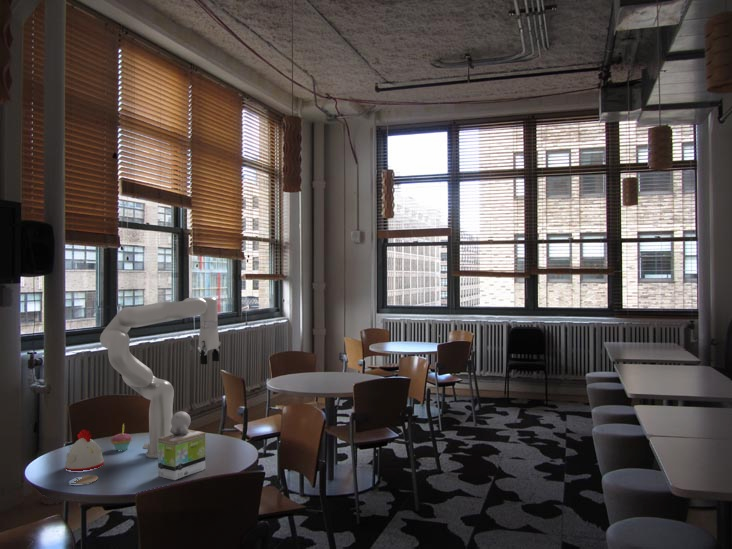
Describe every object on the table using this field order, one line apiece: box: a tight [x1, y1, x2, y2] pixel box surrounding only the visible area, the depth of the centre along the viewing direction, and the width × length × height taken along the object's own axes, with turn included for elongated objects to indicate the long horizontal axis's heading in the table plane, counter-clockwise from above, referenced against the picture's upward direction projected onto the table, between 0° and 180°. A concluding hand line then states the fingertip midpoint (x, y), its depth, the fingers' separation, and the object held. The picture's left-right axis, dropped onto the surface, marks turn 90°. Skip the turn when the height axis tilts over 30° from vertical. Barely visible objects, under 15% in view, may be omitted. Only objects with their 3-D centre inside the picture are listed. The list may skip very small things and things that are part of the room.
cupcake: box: [110, 423, 132, 452], centre depth 261 cm, size 9×8×12 cm
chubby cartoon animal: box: [170, 410, 191, 435], centre depth 229 cm, size 7×12×8 cm, turn 0°
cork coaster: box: [71, 474, 99, 485], centre depth 220 cm, size 10×10×1 cm
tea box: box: [157, 429, 206, 481], centre depth 227 cm, size 15×10×15 cm, turn 149°
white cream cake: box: [64, 429, 105, 471], centre depth 237 cm, size 14×14×15 cm
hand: (210, 362), depth 268 cm, fingers open, 9 cm apart
